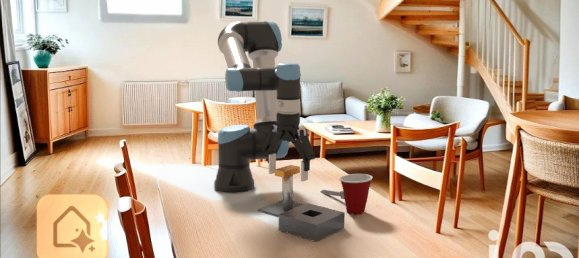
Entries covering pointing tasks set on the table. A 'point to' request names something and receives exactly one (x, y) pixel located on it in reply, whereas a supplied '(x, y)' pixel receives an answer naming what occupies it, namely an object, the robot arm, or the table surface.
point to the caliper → (333, 193)
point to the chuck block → (311, 222)
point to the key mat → (277, 208)
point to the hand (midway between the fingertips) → (288, 176)
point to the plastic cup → (355, 192)
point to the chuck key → (287, 184)
